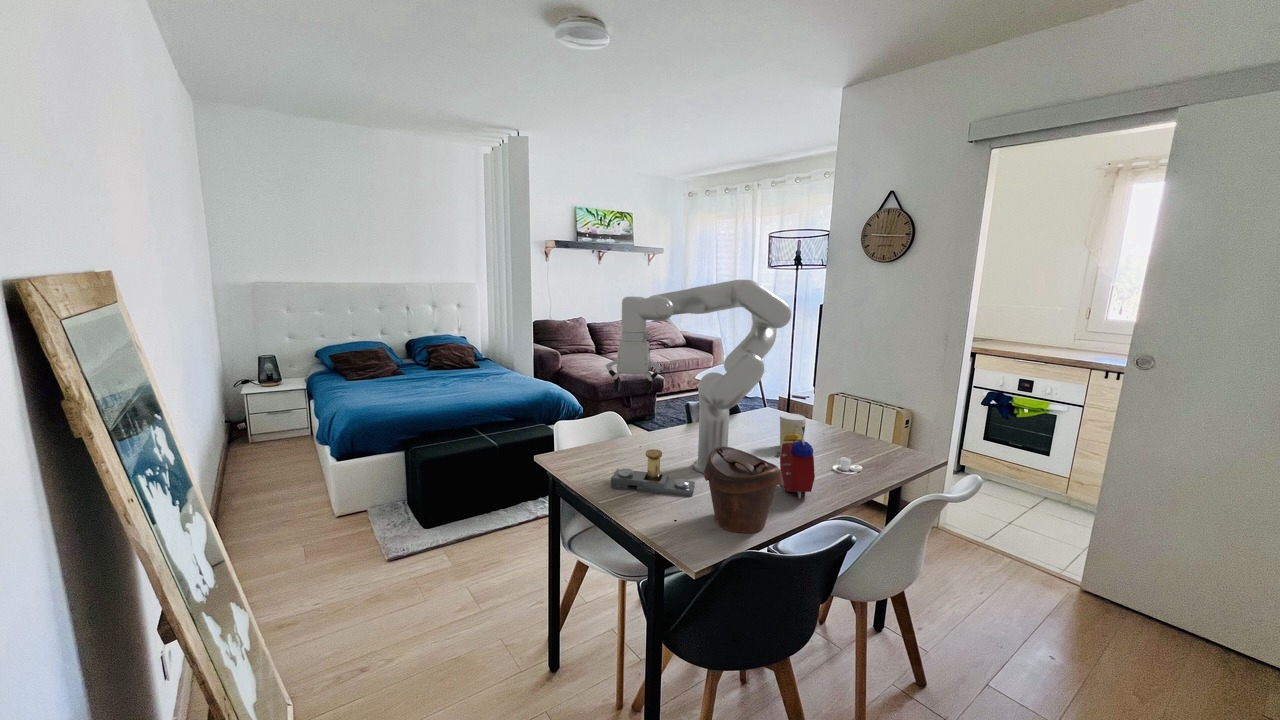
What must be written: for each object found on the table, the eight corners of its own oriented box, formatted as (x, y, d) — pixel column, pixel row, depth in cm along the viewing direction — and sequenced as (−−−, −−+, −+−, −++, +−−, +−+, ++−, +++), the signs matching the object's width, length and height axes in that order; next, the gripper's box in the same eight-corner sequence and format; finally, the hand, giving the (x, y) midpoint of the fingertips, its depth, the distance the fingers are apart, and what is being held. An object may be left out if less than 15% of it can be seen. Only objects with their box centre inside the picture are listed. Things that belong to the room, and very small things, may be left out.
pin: (662, 485, 153) (663, 450, 152) (660, 491, 149) (660, 455, 147) (647, 483, 154) (647, 448, 153) (643, 489, 150) (644, 454, 148)
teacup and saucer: (864, 471, 168) (865, 459, 167) (855, 477, 162) (856, 465, 161) (837, 464, 174) (838, 452, 173) (828, 470, 168) (829, 458, 167)
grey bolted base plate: (694, 485, 153) (695, 472, 152) (691, 497, 145) (692, 483, 145) (617, 478, 158) (617, 465, 157) (610, 488, 150) (610, 475, 150)
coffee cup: (807, 452, 184) (809, 420, 182) (781, 452, 184) (783, 419, 182) (800, 444, 193) (802, 413, 191) (775, 443, 193) (777, 412, 191)
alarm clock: (813, 502, 143) (818, 433, 140) (782, 501, 143) (786, 433, 140) (798, 481, 157) (802, 418, 154) (770, 480, 158) (773, 418, 154)
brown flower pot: (785, 543, 120) (789, 471, 118) (700, 535, 124) (702, 465, 121) (778, 510, 138) (782, 446, 135) (703, 503, 141) (706, 441, 138)
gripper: (663, 336, 158) (662, 390, 161) (608, 335, 161) (608, 388, 164) (660, 339, 151) (659, 396, 154) (603, 337, 154) (603, 393, 156)
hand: (633, 391), depth 159 cm, fingers open, 9 cm apart
